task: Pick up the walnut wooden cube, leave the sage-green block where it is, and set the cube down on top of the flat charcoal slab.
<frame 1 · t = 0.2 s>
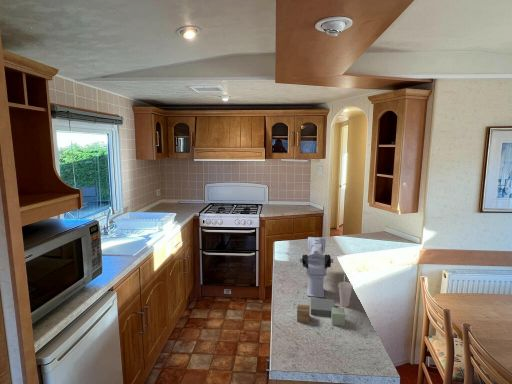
hand: (316, 266, 132), 21 cm above the worktop, tool horizontal, fingers open, 7 cm apart
walnut cube: (303, 318, 131), on the worktop
sage block: (337, 322, 129), on the worktop
charcoal slab: (322, 310, 139), on the worktop
smoothie: (344, 305, 143), on the worktop
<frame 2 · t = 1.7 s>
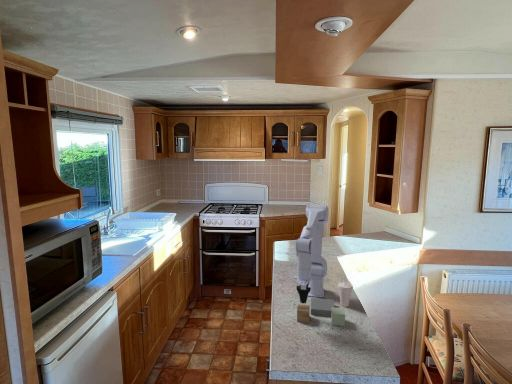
hand: (303, 298, 130), 9 cm above the worktop, tool pointing down, fingers open, 7 cm apart
nothing on the worktop moved.
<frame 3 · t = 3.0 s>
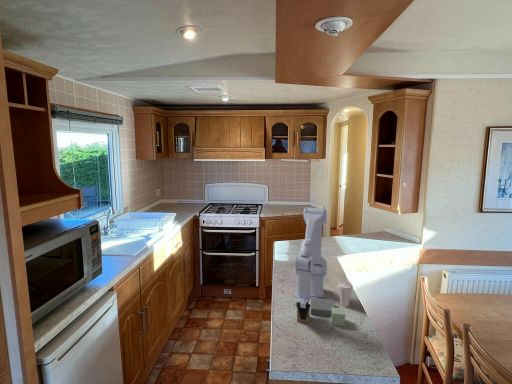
hand: (303, 315, 131), 1 cm above the worktop, tool pointing down, fingers closed on walnut cube, 5 cm apart
walnut cube: (303, 318, 131), on the worktop, touching gripper
everything else where it was.
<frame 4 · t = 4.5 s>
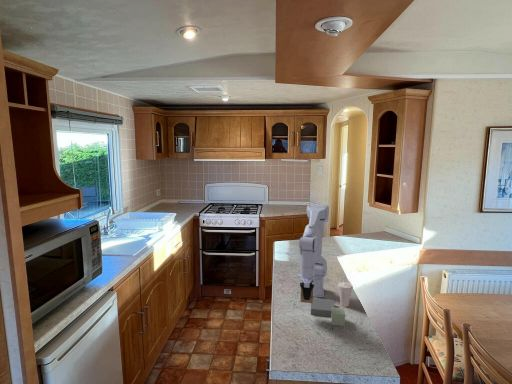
hand: (306, 296, 131), 9 cm above the worktop, tool pointing down, fingers closed on walnut cube, 5 cm apart
walnut cube: (306, 299, 131), point 8 cm above the worktop, touching gripper
everything else where it was.
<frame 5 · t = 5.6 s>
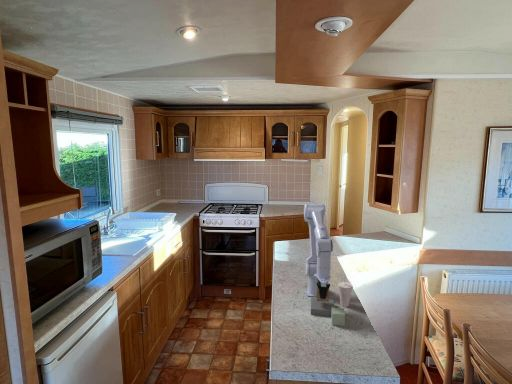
hand: (322, 295, 138), 7 cm above the worktop, tool pointing down, fingers closed on walnut cube, 5 cm apart
walnut cube: (322, 298, 138), point 5 cm above the worktop, touching gripper
everything else where it was.
when the fingers open (5 cm above the worktop, at t = 6.3 s): walnut cube drops 1 cm, point 2 cm above the worktop.
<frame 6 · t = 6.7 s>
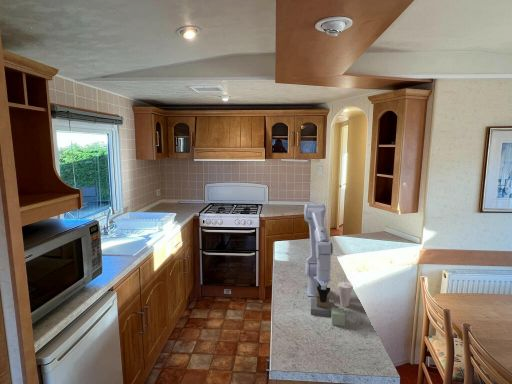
hand: (322, 297, 138), 5 cm above the worktop, tool pointing down, fingers open, 7 cm apart
walnut cube: (322, 304, 138), point 2 cm above the worktop
everything else where it was.
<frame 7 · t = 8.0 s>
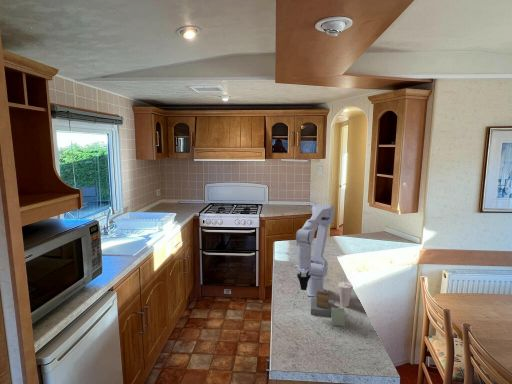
hand: (303, 285, 139), 10 cm above the worktop, tool pointing down, fingers open, 7 cm apart
walnut cube: (322, 304, 138), point 2 cm above the worktop, touching charcoal slab
charcoal slab: (322, 310, 139), on the worktop, touching walnut cube
everything else where it was.
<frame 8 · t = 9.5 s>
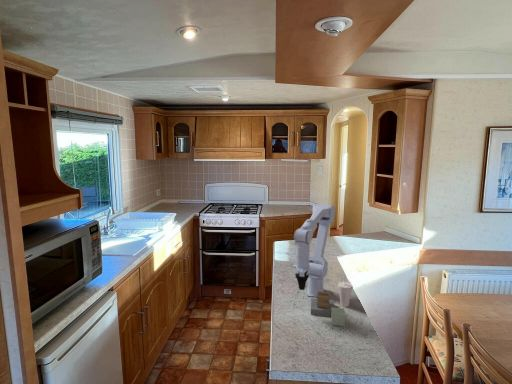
hand: (302, 285, 139), 10 cm above the worktop, tool pointing down, fingers open, 7 cm apart
nothing on the worktop moved.
at the end: walnut cube 0.5 cm off-centre on the charcoal slab, point 3.0 cm above the charcoal slab's base; walnut cube tilted 0°; the gripper is holding nothing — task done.
